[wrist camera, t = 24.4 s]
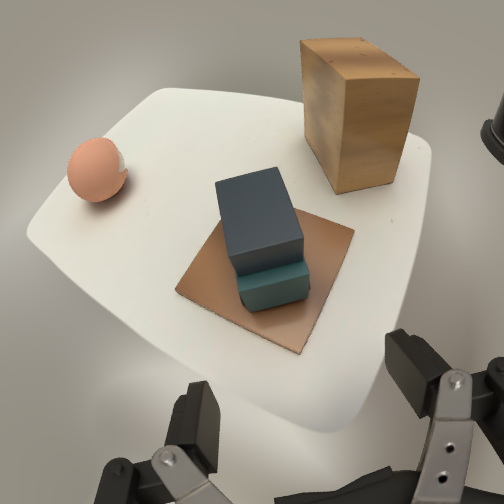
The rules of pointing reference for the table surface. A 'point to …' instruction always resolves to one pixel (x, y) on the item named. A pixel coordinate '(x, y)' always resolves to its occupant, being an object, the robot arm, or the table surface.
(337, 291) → the table surface
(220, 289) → the mat
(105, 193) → the toy ball
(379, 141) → the wooden block
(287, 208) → the toy van
